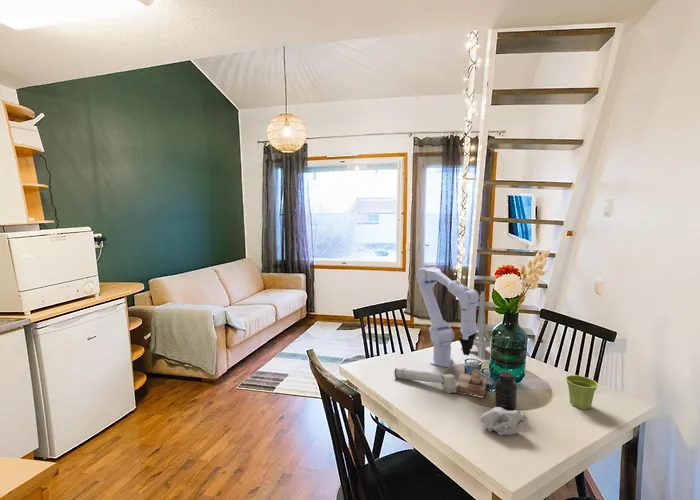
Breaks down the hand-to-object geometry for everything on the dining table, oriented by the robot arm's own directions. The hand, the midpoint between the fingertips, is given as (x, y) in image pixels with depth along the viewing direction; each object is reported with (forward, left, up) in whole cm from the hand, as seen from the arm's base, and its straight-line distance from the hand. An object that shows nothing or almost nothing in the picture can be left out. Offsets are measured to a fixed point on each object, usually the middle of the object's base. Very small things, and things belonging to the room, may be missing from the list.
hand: (467, 351), depth 141 cm
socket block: (+10, +3, -10) cm, 15 cm away
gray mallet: (+15, -13, -11) cm, 23 cm away
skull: (+34, +16, -11) cm, 39 cm away
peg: (+10, +5, -10) cm, 15 cm away
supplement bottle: (+19, +16, -11) cm, 27 cm away
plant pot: (+5, +39, -11) cm, 40 cm away
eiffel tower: (-30, +2, -11) cm, 32 cm away
